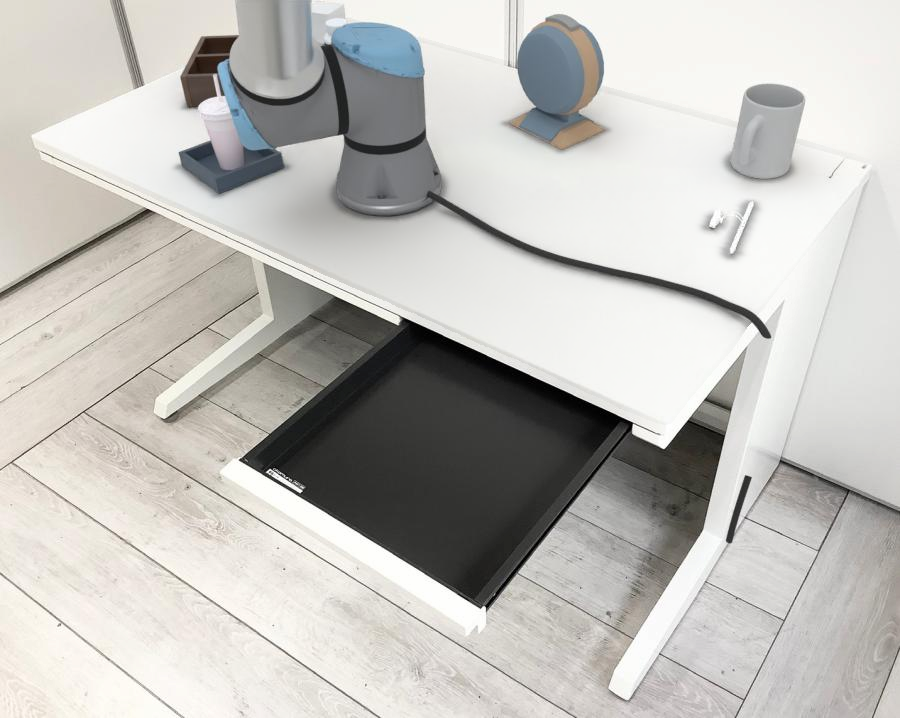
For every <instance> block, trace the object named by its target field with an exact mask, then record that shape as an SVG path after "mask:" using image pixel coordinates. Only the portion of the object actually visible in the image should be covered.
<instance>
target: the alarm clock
mask: <svg viewBox="0 0 900 718" xmlns="http://www.w3.org/2000/svg"><path fill="white" fill-rule="evenodd" d="M604 60H605V59H604V55H603V51H602V49H601V46H600V44H599V42H598V40H597V39H596V37H595V35H594V34H593V32H591V31H590V29H588V27H586V26H585V25H584V24H581V23H579V22H578V21H577V20H576V19H575V18H574V17H572V16H570V15H567V14H564V13H563V14H562V13H557V14H552V15H549V16H546V17H545V19H544V21H542V22H539V23H538V24H537V25H535V26H534V27H532V29H531V30H530V31H529V32H528V33H527V34H526V36H525V37H524V39H523V40H522V42H521V43H520V47H519V49H518V52H517V60H516V68H517V69H516V71H517V75H518V80H519V83H520V85H521V88H522V90H523V93H524V94H525V96H526V97H527V99H528V100H529V101H530V103H531V104H533V106H535V107H532V108H530V110H529V111H528V112H526V113H524V114H522V115H520V116H518V117H516V118H513V119H512V120H510V121H508V124H509V125H511V126H513V127H515V128H517V129H519V130H521V131H523V132H526V133H527V134H529V135H531V136H534V137H535V138H537V139H539V140H541V141H543V142H544V143H545V142H546V143H547V144H549V145H551V146H554V147H556V149H557V148H558V149H559V150H565V149H567V148H569V147H571V146H573V145H575V144H579V143H580V142H582V141H584V140H587V139H589V138H591V137H594V136H595V135H598V134H600V133H602V132H605V131H606V128H604V127H602V126H601V125H598V124H596V123H595V121H594V120H592V119H590V118H589V117H587V116H585V115H584V114H581V113H580V111H581V110H582V109H584V108H587V106H588V105H589V104H590V103H592V101H593V99H594V98H595V97H596V96H597V95H598V92H599V90H600V89H601V86H602V84H603V80H604V75H605V61H604Z"/></svg>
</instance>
